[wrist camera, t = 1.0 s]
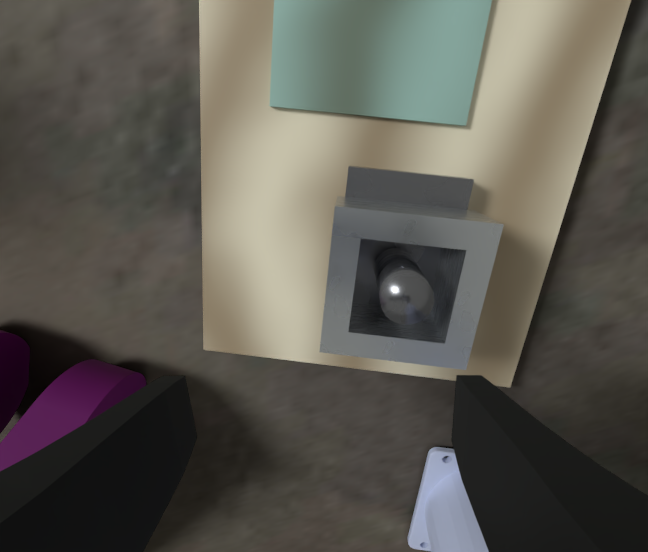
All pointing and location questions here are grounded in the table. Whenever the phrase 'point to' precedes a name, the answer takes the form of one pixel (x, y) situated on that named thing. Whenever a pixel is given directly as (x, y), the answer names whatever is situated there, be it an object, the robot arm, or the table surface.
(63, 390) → the mounting bracket
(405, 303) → the peg base
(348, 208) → the square hollow frame
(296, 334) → the board
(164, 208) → the table surface
